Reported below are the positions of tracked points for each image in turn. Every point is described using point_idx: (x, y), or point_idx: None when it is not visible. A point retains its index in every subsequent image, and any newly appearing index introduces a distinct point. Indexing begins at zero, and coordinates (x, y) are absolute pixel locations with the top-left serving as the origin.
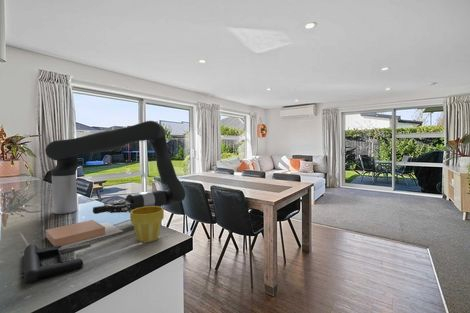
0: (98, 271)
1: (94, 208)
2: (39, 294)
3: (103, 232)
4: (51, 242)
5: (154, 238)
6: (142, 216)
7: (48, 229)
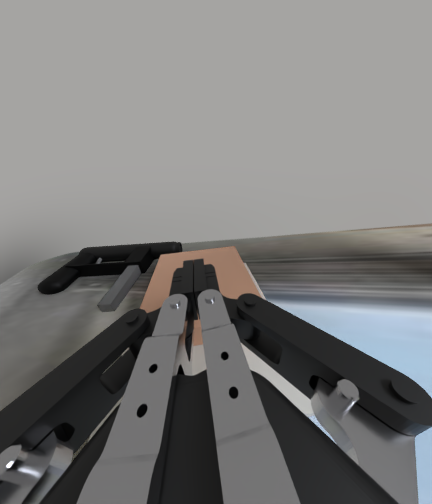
0: None
1: (185, 261)
2: (52, 264)
3: None
4: None
5: None
6: None
7: (233, 248)
